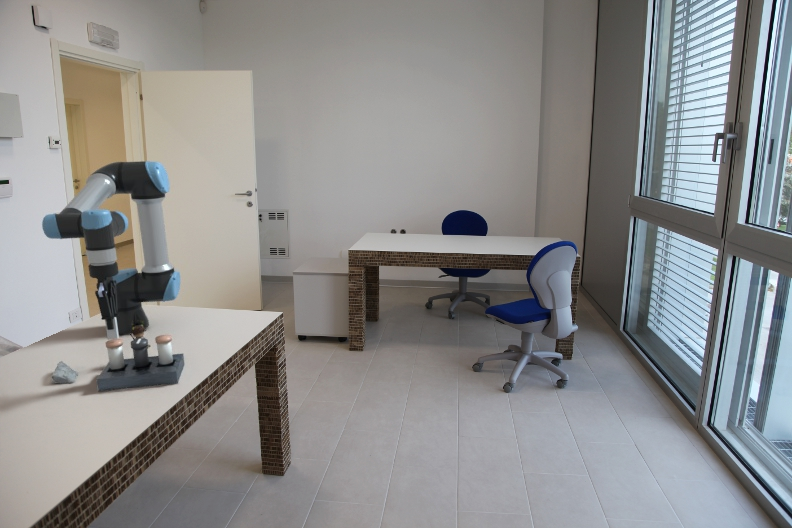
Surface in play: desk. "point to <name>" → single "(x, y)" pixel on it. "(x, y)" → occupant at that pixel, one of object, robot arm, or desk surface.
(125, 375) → the mount
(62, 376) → the mineral specimen
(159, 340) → the knob
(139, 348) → the dial
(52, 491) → the desk surface
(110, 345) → the knob
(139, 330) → the toy
